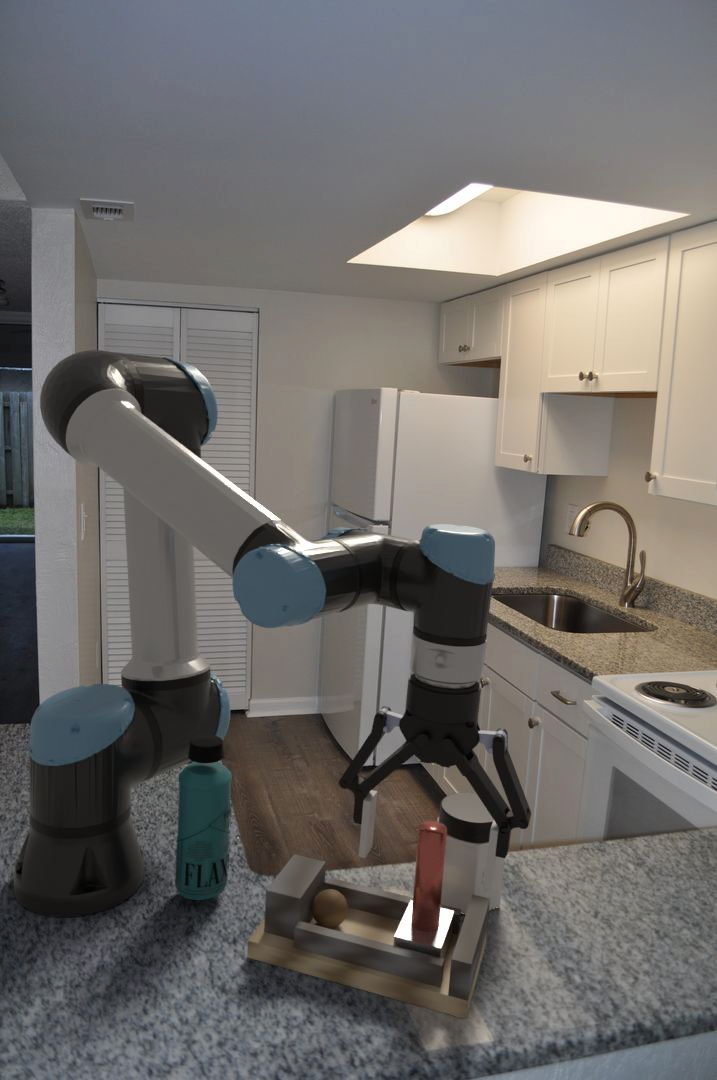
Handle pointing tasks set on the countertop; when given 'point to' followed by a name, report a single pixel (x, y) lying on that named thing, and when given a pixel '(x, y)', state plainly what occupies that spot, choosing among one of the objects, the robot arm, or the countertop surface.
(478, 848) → the jar
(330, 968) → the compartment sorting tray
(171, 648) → the robot arm
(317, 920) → the nut
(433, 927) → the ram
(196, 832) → the beverage bottle
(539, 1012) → the countertop surface
